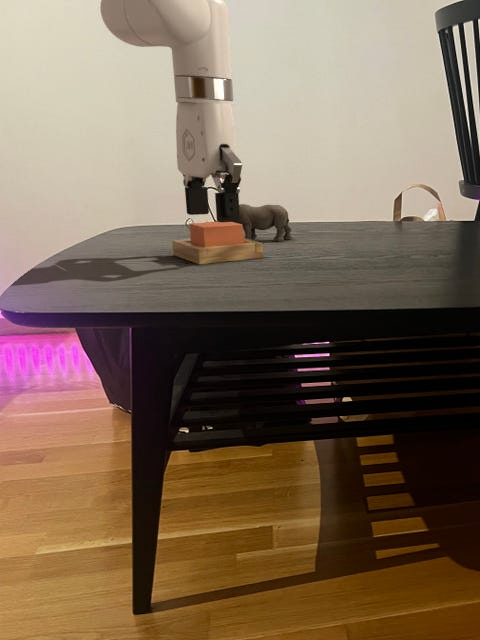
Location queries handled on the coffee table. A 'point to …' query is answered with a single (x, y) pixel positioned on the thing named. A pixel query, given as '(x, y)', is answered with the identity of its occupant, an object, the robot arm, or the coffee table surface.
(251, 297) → the coffee table surface
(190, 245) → the shallow wooden tray
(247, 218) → the rhino figurine
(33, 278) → the coffee table surface
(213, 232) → the block
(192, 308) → the coffee table surface
